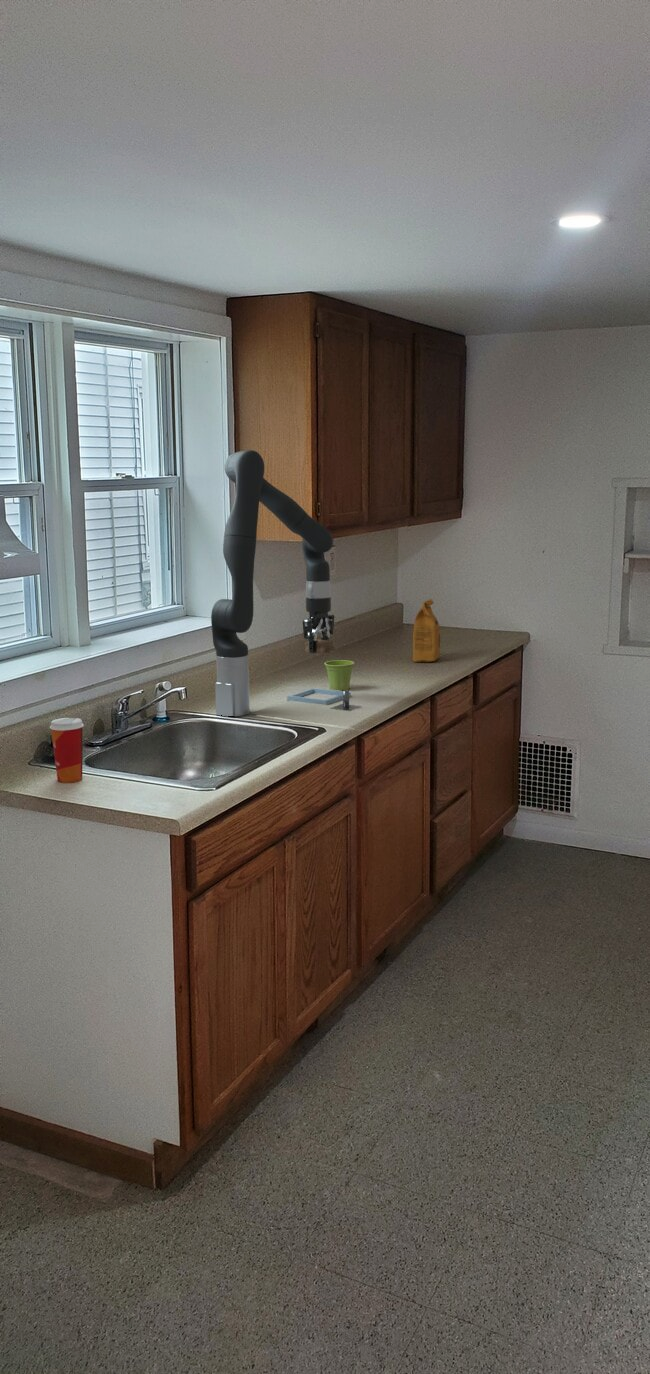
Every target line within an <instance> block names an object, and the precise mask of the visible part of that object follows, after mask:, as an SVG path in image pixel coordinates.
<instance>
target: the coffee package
mask: <svg viewBox="0 0 650 1374" xmlns="http://www.w3.org/2000/svg"><path fill="white" fill-rule="evenodd" d="M434 603H435V602H434V600H433V599H430V598H429V599H427V600H425V601H423V603H422V606H421V608H420V609H419V611H418V612H417V613H416V616H415V618H414V623H413V625H414V626H413V631H412V632H413V633H412V662H413V663H429V662H431V663H432V662H435V661H436V660H438V659H439V657H440V655H441V652H440V649H441V628H440V624H439V621H438V619H437V617H436V616H435V614H434V613H433V609H432V607H431V606H432V605H433V604H434Z"/></svg>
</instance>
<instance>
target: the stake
mask: <svg viewBox="0 0 650 1374" xmlns="http://www.w3.org/2000/svg"><path fill="white" fill-rule="evenodd" d="M342 692H343V699H342V703H341V704H339V705H335V706H333V707H329V709H331V710H339V711H346V712H347V711H348V712H351V711H354V710H357V709H359V708H362V707H363V705H355V704H350V697H349V692H350V690H349V689H348V690H342Z"/></svg>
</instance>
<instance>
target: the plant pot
mask: <svg viewBox="0 0 650 1374" xmlns="http://www.w3.org/2000/svg"><path fill="white" fill-rule="evenodd" d="M354 664H355V662H354V661H352V660H347V659H346V660H345V659H337V660H333V659H332V660H328V661H326V662H324V664H323V665H325V668H326V673H327V677H328V683H329V690H334V691H343V690H349V689H350V683H351V676H352V670H353V666H354Z"/></svg>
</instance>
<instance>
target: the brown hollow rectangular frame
mask: <svg viewBox="0 0 650 1374" xmlns="http://www.w3.org/2000/svg"><path fill="white" fill-rule="evenodd" d="M316 641H317V643H316V647H317V652H316V653H315V654H320V655H321V654H325V653H326V654H332V653H335V651H336V647H334V645H333V643H334V641H333V640H329V641H328V640H321V639H317V638H316ZM304 643H305V644H304V650H305V653H310V652H309V640H308V641H305V642H304Z"/></svg>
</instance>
